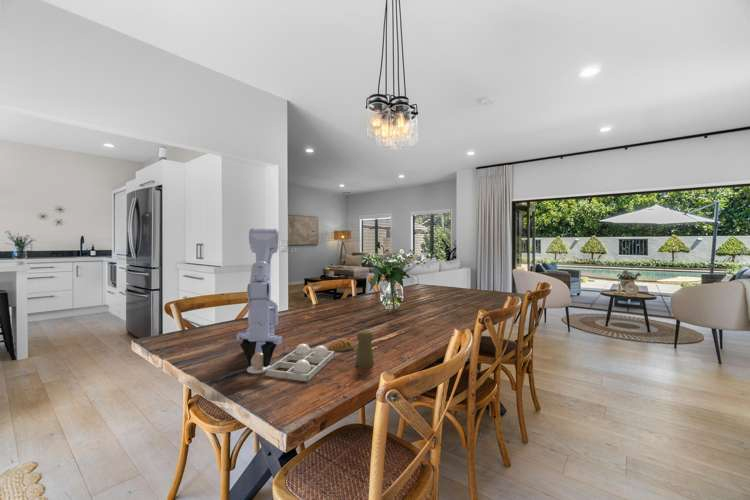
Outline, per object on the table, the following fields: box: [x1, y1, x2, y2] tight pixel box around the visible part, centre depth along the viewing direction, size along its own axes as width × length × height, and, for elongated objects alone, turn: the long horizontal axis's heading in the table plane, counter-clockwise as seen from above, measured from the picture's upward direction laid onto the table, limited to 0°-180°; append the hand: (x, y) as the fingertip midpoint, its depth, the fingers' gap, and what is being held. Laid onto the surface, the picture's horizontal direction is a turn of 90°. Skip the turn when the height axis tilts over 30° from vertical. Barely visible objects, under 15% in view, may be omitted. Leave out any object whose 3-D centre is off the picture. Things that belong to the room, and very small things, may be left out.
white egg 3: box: [313, 345, 329, 358], centre depth 107 cm, size 5×5×5 cm
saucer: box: [246, 365, 271, 374], centre depth 98 cm, size 7×7×1 cm
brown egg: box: [250, 352, 264, 369], centre depth 98 cm, size 5×5×5 cm
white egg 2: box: [294, 359, 311, 374], centre depth 94 cm, size 5×5×5 cm
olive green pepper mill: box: [355, 329, 375, 368], centre depth 104 cm, size 6×6×11 cm
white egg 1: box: [295, 343, 311, 356], centre depth 108 cm, size 5×5×5 cm
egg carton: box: [264, 348, 336, 382], centre depth 101 cm, size 14×20×2 cm
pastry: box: [327, 337, 355, 353], centre depth 119 cm, size 9×7×4 cm
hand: (259, 365), depth 98 cm, fingers closed on brown egg, 5 cm apart
